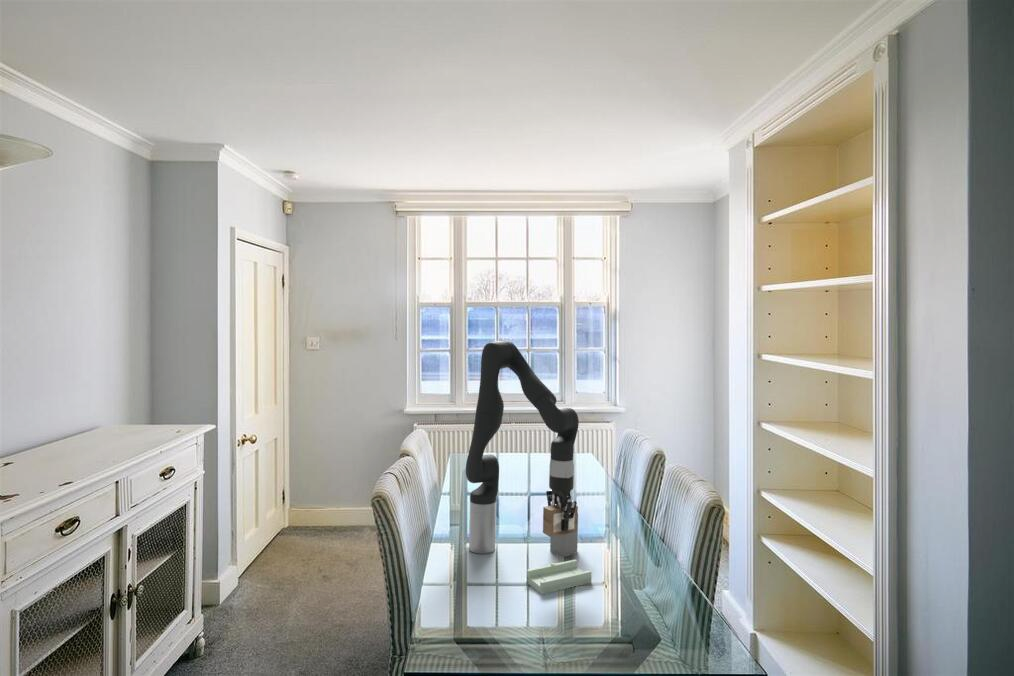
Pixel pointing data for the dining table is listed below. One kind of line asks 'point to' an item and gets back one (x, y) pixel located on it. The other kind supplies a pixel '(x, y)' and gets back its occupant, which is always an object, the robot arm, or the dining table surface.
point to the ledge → (557, 577)
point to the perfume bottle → (564, 543)
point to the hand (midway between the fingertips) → (560, 527)
